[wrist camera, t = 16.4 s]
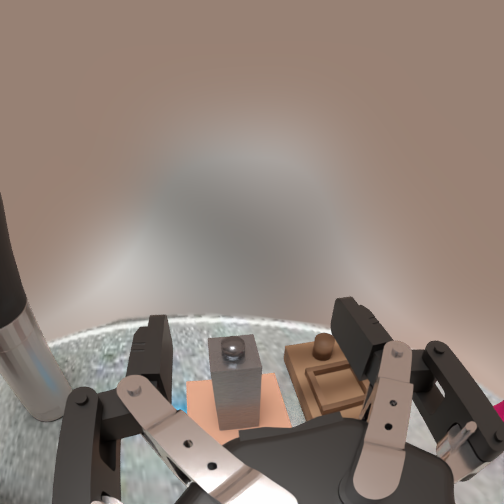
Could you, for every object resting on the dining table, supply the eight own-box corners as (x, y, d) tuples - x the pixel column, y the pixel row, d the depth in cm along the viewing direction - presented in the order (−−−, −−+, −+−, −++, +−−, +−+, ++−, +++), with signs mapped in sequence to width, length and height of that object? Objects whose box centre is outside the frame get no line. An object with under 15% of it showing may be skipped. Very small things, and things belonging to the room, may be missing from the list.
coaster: (296, 449, 30) (297, 445, 29) (191, 462, 28) (189, 459, 27) (274, 376, 41) (274, 372, 41) (187, 385, 39) (186, 381, 39)
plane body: (392, 443, 28) (410, 420, 26) (323, 467, 27) (334, 447, 24) (340, 349, 46) (347, 322, 44) (283, 359, 45) (286, 331, 42)
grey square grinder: (259, 426, 32) (262, 358, 26) (219, 430, 31) (209, 363, 26) (252, 397, 36) (253, 326, 31) (216, 400, 36) (206, 330, 30)
